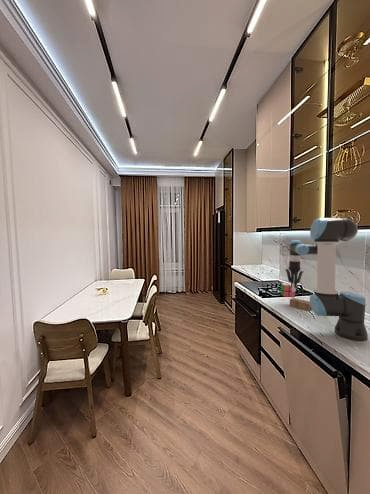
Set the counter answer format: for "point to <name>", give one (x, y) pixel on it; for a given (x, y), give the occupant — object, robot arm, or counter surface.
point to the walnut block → (300, 304)
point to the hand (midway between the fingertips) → (293, 291)
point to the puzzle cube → (287, 290)
